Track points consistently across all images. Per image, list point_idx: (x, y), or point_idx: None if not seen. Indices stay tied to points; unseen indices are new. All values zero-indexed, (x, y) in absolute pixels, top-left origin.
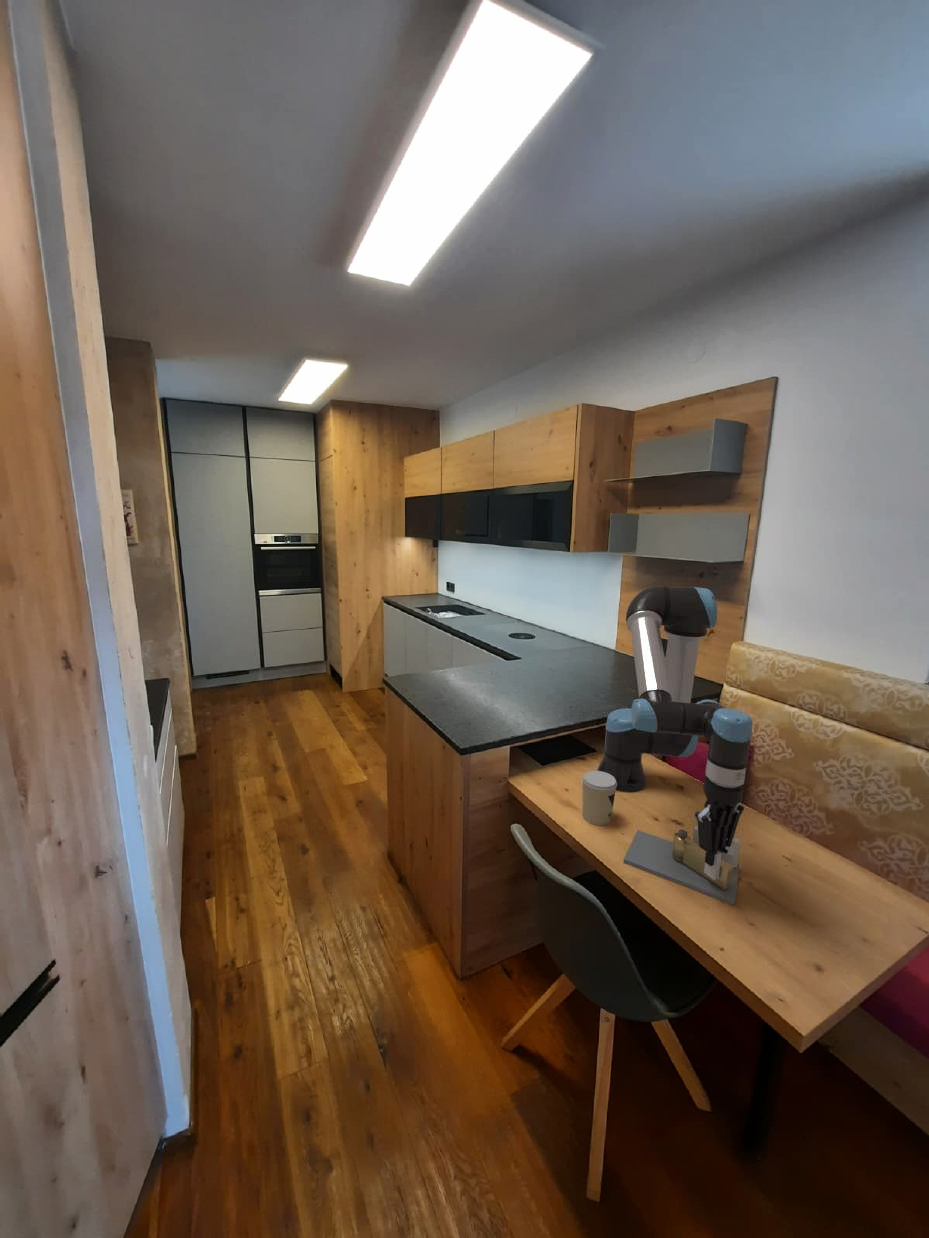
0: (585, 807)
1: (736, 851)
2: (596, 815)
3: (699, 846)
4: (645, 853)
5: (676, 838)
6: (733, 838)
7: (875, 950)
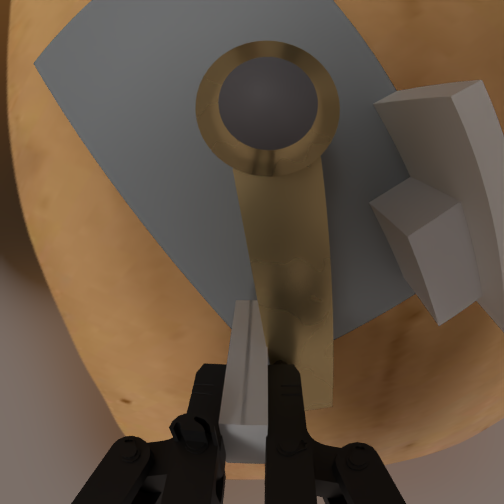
0: None
1: (479, 299)
2: None
3: (117, 441)
4: (129, 36)
5: (196, 103)
6: None
7: (396, 455)
